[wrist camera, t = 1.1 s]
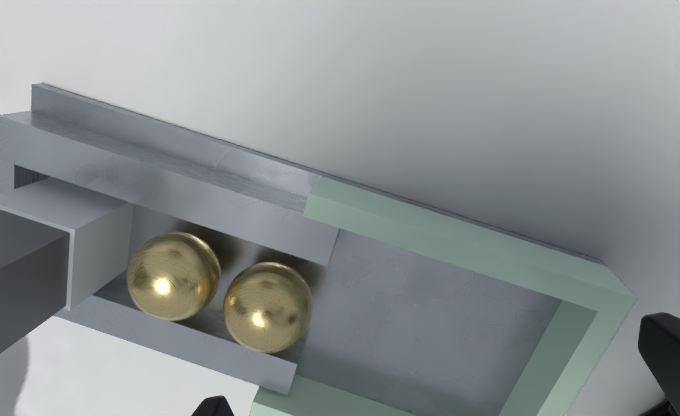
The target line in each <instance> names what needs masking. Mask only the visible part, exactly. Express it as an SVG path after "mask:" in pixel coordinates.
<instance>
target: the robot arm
mask: <svg viewBox="0 0 680 416" xmlns="http://www.w3.org/2000/svg"><path fill="white" fill-rule="evenodd" d="M638 348H639V352H640V354H641V356H642V358H643V359H644V361H645V363H646V364H647V366H648V367H649V369H650V371H651V372H652V374H653V375H654V377H655V379H656V380H657V382H658V383H659V385H660V387H661V388H662V390H663V391H664V393H665V395H666V396H667V398H668V399H669V401H670V402H668V403H667V404H665V405H663V406H662V407H660V408H658V409H656V410H655V411H653V412H651V413H650V414H648V415H646V416H680V318H678V317H675V316H673V315H671V314H668V313H664V312H660V313H655V314H650V315H645V316H644V317H643V318H642V319H641V324H640V332H639V340H638ZM191 416H234V414H233V412H232V410H231V408H230V406H229V404H228V402H227V400H226V398H225V397H224V396H215V397H210V398H206V399H204V400H203V401H202V402H201V404H200V405H199V406H198V408H197V409H196V410H195V411H194V413H193V414H192V415H191Z"/></svg>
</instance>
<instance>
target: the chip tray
mask: <svg viewBox="0 0 680 416" xmlns="http://www.w3.org/2000/svg"><path fill="white" fill-rule="evenodd" d="M303 216H304V217H307V218H310V219H313V220H316V221H319V222H322V223H326V224H329V225H332V226H335V227H338V228H341V229H344V230H347V231H350V232H353V233H357V234H360V235H363V236H366V237H369V238H372V239H375V240H378V241H381V242H385V243H388V244H391V245H394V246H397V247H400V248H403V249H406V250H409V251H412V252H416V253H419V254H422V255H425V256H428V257H431V258H434V259H437V260H440V261H444V262H447V263H450V264H453V265H456V266H459V267H462V268H465V269H468V270H471V271H475V272H478V273H481V274H484V275H487V276H490V277H493V278H496V279H499V280H503V281H506V282H509V283H512V284H515V285H518V286H521V287H524V288H527V289H530V290H534V291H537V292H540V293H543V294H546V295H549V296H552V297H555V298H558V299H562V302H561V304H560V305H559V307H558V309H557V311H556V313H555V314H554V316H553V318H552V320H551V322H550V323H549V325H548V327H547V329H546V331H545V332H544V334H543V336H542V338H541V340H540V341H539V343H538V345H537V347H536V349H535V350H534V352H533V354H532V356H531V358H530V359H529V361H528V363H527V365H526V367H525V369H524V370H523V372H522V374H521V376H520V378H519V379H518V381H517V383H516V385H515V387H514V388H513V390H512V392H511V394H510V396H509V397H508V399H507V401H506V403H505V405H504V406H503V408H502V410H501V412H500V414H499V415H498V416H564V415H565V413H566V411H567V410H568V408H569V407H570V405H571V404H572V402H573V400H574V399H575V397H576V396H577V394H578V392H579V391H580V389H581V388H582V386H583V384H584V383H585V381H586V380H587V378H588V377H589V375H590V373H591V372H592V370H593V369H594V367H595V365H596V364H597V362H598V361H599V359H600V357H601V356H602V354H603V353H604V351H605V349H606V348H607V346H608V345H609V343H610V342H611V340H612V338H613V337H614V335H615V334H616V332H617V330H618V329H619V327H620V326H621V324H622V322H623V321H624V319H625V318H626V316H627V314H628V313H629V311H630V310H631V308H632V307H633V305H634V303H635V302H636V300H637V299H638V298H637V297H636V296H635V295H634V294H633V293H632V292H631V291H630V290H629V289H628V288H627V287H626V286H625V285H624V284H623V282H622V281H621V280H620V279H619V278H618V277H617V276H616V275H615V274H614V273H613V272H612V271H611V270H610V269H609V268H608V267H606V266H603V265H600V264H597V263H594V262H591V261H587V260H584V259H581V258H578V257H575V256H572V255H569V254H565V253H562V252H559V251H556V250H553V249H550V248H546V247H543V246H540V245H537V244H534V243H531V242H528V241H524V240H521V239H518V238H515V237H512V236H509V235H505V234H502V233H499V232H496V231H493V230H490V229H487V228H483V227H480V226H477V225H474V224H471V223H468V222H464V221H461V220H458V219H455V218H452V217H449V216H446V215H442V214H439V213H436V212H433V211H430V210H427V209H423V208H420V207H417V206H414V205H411V204H408V203H405V202H401V201H398V200H395V199H392V198H389V197H386V196H382V195H379V194H376V193H373V192H370V191H367V190H364V189H360V188H357V187H354V186H351V185H348V184H345V183H341V182H338V181H335V180H332V179H329V178H326V177H323V176H321V177H320V179H319V180H318V181H317V183H316V184H315V186H314V187H313V188H312V190H311V191H310V192H309V195H308V198H307V202H306V206H305V209H304V213H303ZM249 416H417V415H414V414H411V413H408V412H405V411H402V410H399V409H396V408H393V407H390V406H387V405H384V404H382V403H379V402H376V401H373V400H370V399H367V398H364V397H361V396H358V395H355V394H352V393H349V392H346V391H343V390H340V389H337V388H334V387H331V386H328V385H326V384H323V383H320V382H317V381H314V380H311V379H308V378H305V377H302V376H299V375H296V374H295V377H294V380H293V382H292V385H291V388H290V391H289V394H288V395H285V394H282V393H279V392H276V391H273V390H270V389H267V388H265V387H262V386H260V387H259V389H258V391H257V393H256V396H255V398H254V400H253V403H252V406H251V410H250V414H249Z"/></svg>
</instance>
